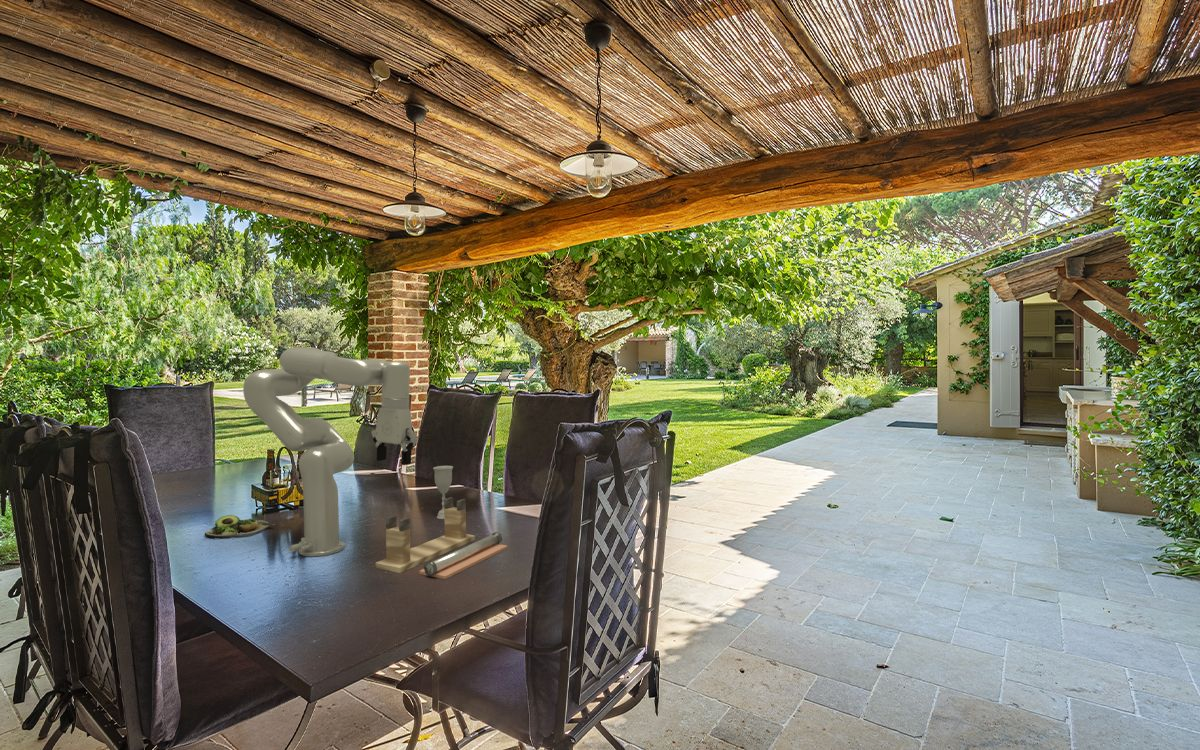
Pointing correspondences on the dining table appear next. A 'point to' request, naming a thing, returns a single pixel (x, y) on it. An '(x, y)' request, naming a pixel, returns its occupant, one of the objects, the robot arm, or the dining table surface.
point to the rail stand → (406, 558)
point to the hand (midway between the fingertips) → (393, 462)
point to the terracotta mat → (467, 562)
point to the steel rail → (461, 554)
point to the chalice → (443, 483)
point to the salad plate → (236, 527)
